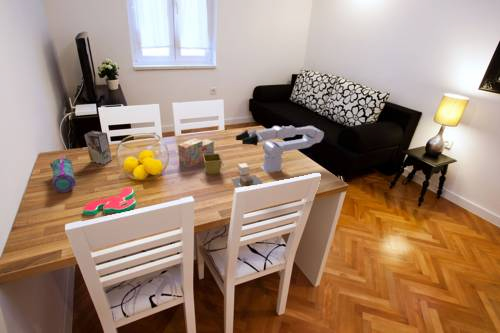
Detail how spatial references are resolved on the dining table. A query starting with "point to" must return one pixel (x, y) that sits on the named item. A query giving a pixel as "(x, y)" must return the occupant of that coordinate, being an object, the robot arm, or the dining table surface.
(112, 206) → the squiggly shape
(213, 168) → the flower pot
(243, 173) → the top block
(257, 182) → the blueprint mat
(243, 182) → the base block
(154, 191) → the dining table surface
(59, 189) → the pencil case
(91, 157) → the coffee box
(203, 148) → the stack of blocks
